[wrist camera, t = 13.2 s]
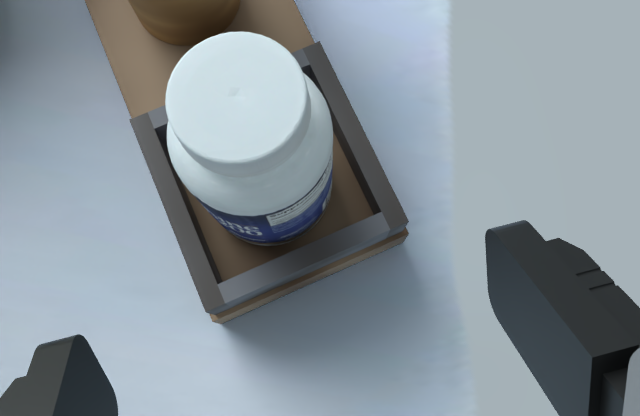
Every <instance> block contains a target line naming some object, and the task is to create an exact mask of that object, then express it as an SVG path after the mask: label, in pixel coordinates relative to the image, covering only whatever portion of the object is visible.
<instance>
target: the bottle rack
mask: <svg viewBox="0 0 640 416" xmlns="http://www.w3.org/2000/svg"><path fill="white" fill-rule="evenodd" d="M85 2H86V5H87V7H88V10H89V12H90V15H91V17H92V20H93V22H94V25H95V27H96V30H97V32H98V35H99V37H100V40H101V42H102V45H103V47H104V50H105V52H106V55H107V57H108V60H109V62H110V65H111V67H112V70H113V73H114V75H115V78H116V80H117V83H118V85H119V88H120V90H121V93H122V95H123V98H124V100H125V103H126V105H127V108H128V110H129V113H130V115H131V118H132V119H130V122H131V125H132V127H133V130H134V132H135V135H136V137H137V140H138V143H139V145H140V148H141V150H142V153H143V155H144V158H145V160H146V163H147V165H148V168H149V170H150V173H151V175H152V178H153V180H154V183H155V185H156V188H157V190H158V193H159V195H160V198H161V201H162V203H163V206H164V208H165V211H166V213H167V216H168V218H169V221H170V223H171V226H172V228H173V231H174V233H175V236H176V238H177V241H178V243H179V246H180V248H181V251H182V254H183V256H184V259H185V261H186V264H187V266H188V269H189V271H190V274H191V276H192V279H193V281H194V284H195V286H196V289H197V291H198V294H199V296H200V299H201V301H202V304H203V306H204V309H205V312H207V313H209V314H210V316H211V319H212V322H215V323H219V324H222V323H224V322H227V321H229V320H231V319H233V318H236V317H238V316H240V315H242V314H244V313H247V312H249V311H251V310H253V309H256V308H258V307H260V306H262V305H264V304H267V303H269V302H271V301H273V300H276V299H278V298H280V297H282V296H285V295H287V294H289V293H291V292H293V291H296V290H298V289H300V288H302V287H305V286H307V285H309V284H311V283H313V282H316V281H318V280H320V279H322V278H325V277H327V276H329V275H331V274H334V273H336V272H338V271H340V270H342V269H345V268H347V267H349V266H351V265H354V264H356V263H358V262H360V261H362V260H365V259H367V258H369V257H371V256H374V255H376V254H378V253H380V252H382V251H385V250H387V249H389V248H391V247H394V246H396V245H398V244H400V243H403V242H404V240H405V239H406V237H407V236H408V234H409V233H408V231H407V229H406V225H407V223H408V222H409V221H408V219H407V217H406V215H405V213H404V211H403V209H402V207H401V205H400V203H399V201H398V199H397V197H396V195H395V193H394V191H393V189H392V187H391V185H390V183H389V181H388V179H387V177H386V175H385V173H384V171H383V169H382V167H381V165H380V163H379V161H378V159H377V157H376V155H375V152H374V150H373V148H372V146H371V144H370V142H369V140H368V138H367V136H366V134H365V132H364V130H363V128H362V126H361V124H360V122H359V120H358V118H357V116H356V114H355V112H354V110H353V108H352V106H351V104H350V102H349V100H348V98H347V96H346V94H345V92H344V90H343V88H342V86H341V84H340V82H339V80H338V78H337V76H336V74H335V72H334V70H333V68H332V66H331V64H330V62H329V60H328V58H327V56H326V54H325V52H324V50H323V48H322V45H321V43H320V41H319V42H317V43H314V41H313V39H312V36H311V34H310V32H309V30H308V28H307V26H306V24H305V22H304V20H303V18H302V16H301V14H300V12H299V10H298V8H297V6H296V4H295V2H294V0H85ZM227 32H251V33H255V34H260V35H263V36H265V37H268V38H271V39H272V40H274V41H276V42H277V43H279V44H281V45H282V46H283V47H284V48H286V49H287V50H288V51H289V52H290V53H291V55H292V56H293V57H294V58H295V59H296V61H297V62H298V64H299V66H300V67H301V69H302V72H303V73H304V74H305V75H307V76H308V77H309V78H310V79H311V80H312V81H313V83H314V84H315V85H316V87H317V88H318V89H319V91H320V92H321V94H322V95H323V97H324V99H325V101H326V103H327V106H328V108H329V111H330V115H331V120H332V126H333V168H332V190H331V196H330V200H329V203H328V206H327V208H326V211H325V212H324V214H323V216H322V217H321V219H320V220H319V222H318V223H317V224H316V225H315V226H314V227H313V228H312V229H311V230H310V231H309V232H307V233H306V234H305V235H303V236H301V237H300V238H298V239H296V240H294V241H291V242H289V243H285V244H281V245H276V246H261V245H255V244H252V243H249V242H246V241H243V240H241V239H239V238H237V237H236V236H234V235H233V234H231V233H230V232H229V231H227V230H226V229H225V228H224V227H223V226H222V225H221V224H220V223H219V222H218V221H217V220H216V219H215V218H214V217H213V216H212V215H211V214H210V213H209V212H208V211H207V210H206V209H205V208H204V207H203V205H202V204H201V203H200V202H199V201H198V200H197V199H196V198H195V196H194V195H192V194H191V193H190V191H189V190H188V189H187V187H186V186H185V185H184V184H183V182H182V181H181V179H180V177H179V176H178V174H177V172H176V171H175V169H174V167H173V164H172V162H171V159H170V156H169V152H168V147H167V125H168V116H167V113H166V105H165V99H166V90H167V84H168V81H169V79H170V76H171V74H172V71H173V70H174V68H175V66H176V65H177V63H178V62H179V61H180V59H181V58H182V57H183V56H184V55H185V54H186V53H187V52H188V51H189V50H190V49H191V48H193V47H194V46H195V45H197V44H198V43H200V42H202V41H204V40H206V39H208V38H210V37H212V36H215V35H218V34H222V33H227Z"/></svg>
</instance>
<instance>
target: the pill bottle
mask: <svg viewBox="0 0 640 416" xmlns="http://www.w3.org/2000/svg"><path fill="white" fill-rule="evenodd" d="M165 105H166V113H167V116H168V125H167V147H168V152H169V156H170V159H171V162H172V164H173V167H174V169H175V171H176V172H177V174H178V176H179V177H180V179H181V181H182V182H183V184H184V185H185V186H186V187H187V189H188V190H189V191H190V193H191V194H192V195H194V196H195V198H196V199H197V200H198V201H199V202H200V203H201V204H202V205H203V207H204V208H205V209H206V210H207V211H208V212H209V213H210V214H211V215H212V216H213V217H214V218H215V219H216V220H217V221H218V222H219V223H220V224H221V225H222V226H223V227H224V228H225V229H226V230H227V231H229V232H230V233H231V234H233V235H234V236H236V237H237V238H239V239H241V240H243V241H246V242H249V243H252V244H255V245H261V246H276V245H281V244H285V243H289V242H291V241H294V240H296V239H298V238H300V237H301V236H303V235H305V234H306V233H307V232H309V231H310V230H311V229H312V228H313V227H314V226H315V225H316V224H317V223H318V222H319V220H320V219H321V217H322V216H323V214H324V212H325V211H326V208H327V206H328V203H329V200H330V196H331V190H332V168H333V126H332V120H331V115H330V111H329V108H328V106H327V103H326V101H325V99H324V97H323V95H322V94H321V92H320V91H319V89H318V88H317V87H316V85H315V84H314V83H313V81H312V80H311V79H310V78H309V77H308V76H307V75H305V74H304V73H303V72H302V69H301V67H300V66H299V64H298V62H297V61H296V59H295V58H294V57H293V56H292V55H291V53H290V52H289V51H288V50H287V49H286V48H284V47H283V46H282V45H281V44H279V43H277V42H276V41H274V40H272V39H271V38H268V37H265V36H263V35H260V34H255V33H251V32H227V33H222V34H218V35H215V36H212V37H210V38H208V39H206V40H204V41H202V42H200V43H198V44H197V45H195V46H194V47H193V48H191V49H190V50H189V51H188V52H187V53H186V54H185V55H184V56H183V57H182V58H181V59H180V61H179V62H178V63H177V65H176V66H175V68H174V70H173V71H172V74H171V76H170V79H169V81H168V84H167V90H166V99H165Z"/></svg>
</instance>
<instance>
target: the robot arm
mask: <svg viewBox="0 0 640 416" xmlns="http://www.w3.org/2000/svg"><path fill="white" fill-rule="evenodd" d="M485 243H486V262H487V279H488V280H487V281H488V293H489V298H490V302H491V305H492V308H493V310H494V313H495V315H496V317H497V319H498V321H499V322H500V324H501V325H502V327H503V329H504V330H505V332H506V333H507V335H508V337H509V338H510V340H511V341H512V343H513V344H514V346H515V347H516V349H517V350H518V352H519V353H520V355H521V357H522V358H523V360H524V361H525V363H526V365H527V366H528V368H529V369H530V371H531V372H532V374H533V376H534V377H535V378H536V380H537V382H538V383H539V385H540V386H541V388H542V389H543V391H544V393H545V394H546V396H547V397H548V399H549V400H550V402H551V404H552V405H553V407H554V408H555V410H556V411H557V413H558V414H559V416H640V308H639V307H638V306H637V305H636V304H635V303H634V302H633V300H632V299H630V297H629V296H628V295H627V294H626V293H625V292H624V291H623V290H622V289H621V288H620V287H619V286H615V284H614V281H613V280H612V279H611V278H610V277H609V276H608V275H607V274H606V273H605V272H604V271H601V269H600V267H599V266H598V265H597V264H596V263H595V262H594V261H593V259H592V258H591V257H589V255H588V254H587V253H586V252H585V251H584V250H582V249H580V248H578V247H576V246H574V245H572V244H570V243H568V242H566V241H564V240H562V239H560V238H557V239H553V240H549V241H545V240H544V239H543V238H542V236H541V235H540V234H539V233H538V232H537V231H536V230H535V229H534V228H533V226H532V225H531V224H530V223H529V222H527V221H525V220H523V221H519V222H515V223H511V224H507V225H503V226H499V227H496V228H492V229H488V230H487V232H486V235H485ZM0 416H118V406H117V400H116V396H115V393H114V390H113V388H112V386H111V384H110V382H109V380H108V378H107V376H106V375H105V373H104V371H103V369H102V367H101V365H100V364H99V362H98V360H97V358H96V356H95V355H94V353H93V351H92V349H91V347H90V345H89V344H88V342H87V340H86V339H85V338H84V337H83V336H82V335H75V336H71V337H67V338H63V339H59V340H55V341H52V342H48V343H44V344H41V345H39V346H38V347H37V348H36V350H35V352H34V355H33V358H32V361H31V364H30V367H29V370H28V373H27V375H26V376H24V377H20V378H17V379H15V380H14V381H13V382H12V384H11V385H10V386H9V388H8V389H7V390H6V391H5V393H4V394H3V395H2V396H1V398H0Z"/></svg>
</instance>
